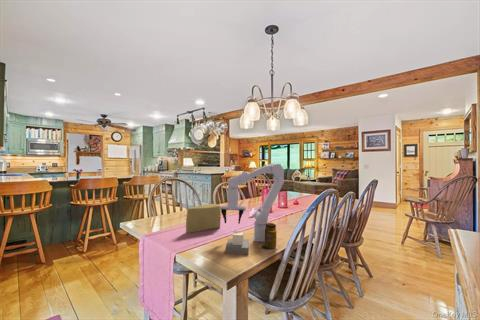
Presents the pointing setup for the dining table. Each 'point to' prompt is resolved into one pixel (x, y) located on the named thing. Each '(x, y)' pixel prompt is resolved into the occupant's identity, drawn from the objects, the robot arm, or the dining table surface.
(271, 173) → the robot arm
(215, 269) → the dining table surface
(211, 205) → the olive rectangular box
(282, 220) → the dining table surface
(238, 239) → the cube
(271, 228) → the condiment
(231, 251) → the base
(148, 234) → the dining table surface
